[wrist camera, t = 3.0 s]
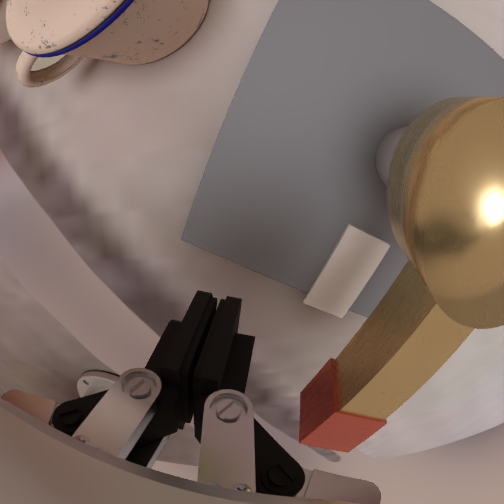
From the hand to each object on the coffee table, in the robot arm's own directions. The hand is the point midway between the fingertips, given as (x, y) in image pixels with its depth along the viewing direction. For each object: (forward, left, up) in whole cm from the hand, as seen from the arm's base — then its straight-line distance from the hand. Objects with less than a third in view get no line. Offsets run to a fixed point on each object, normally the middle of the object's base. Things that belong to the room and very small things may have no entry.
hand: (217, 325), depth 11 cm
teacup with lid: (+11, +13, -10) cm, 20 cm away
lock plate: (+9, -7, -10) cm, 15 cm away
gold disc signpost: (+4, -7, -2) cm, 8 cm away
